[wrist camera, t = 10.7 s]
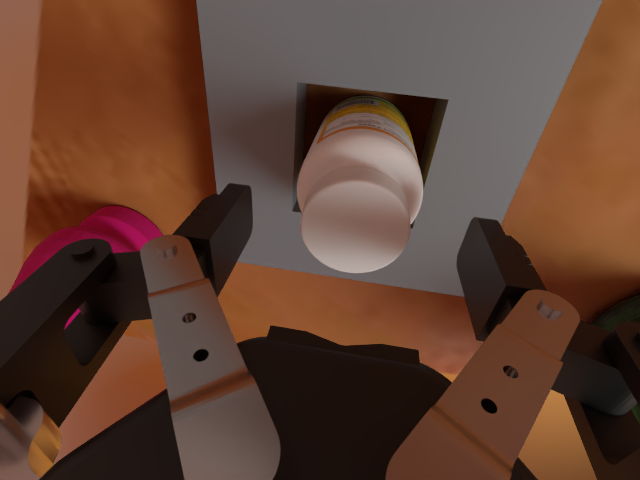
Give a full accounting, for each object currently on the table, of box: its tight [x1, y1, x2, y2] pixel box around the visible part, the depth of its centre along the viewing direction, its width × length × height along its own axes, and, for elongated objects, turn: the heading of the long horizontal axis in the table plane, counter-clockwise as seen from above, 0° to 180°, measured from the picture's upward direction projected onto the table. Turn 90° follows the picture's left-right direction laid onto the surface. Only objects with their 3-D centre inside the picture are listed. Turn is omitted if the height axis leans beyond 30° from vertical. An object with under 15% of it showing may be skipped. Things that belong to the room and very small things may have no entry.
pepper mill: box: [8, 206, 163, 330], centre depth 19 cm, size 7×7×20 cm
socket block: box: [196, 0, 602, 297], centre depth 19 cm, size 16×16×3 cm
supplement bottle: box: [297, 96, 423, 273], centre depth 16 cm, size 5×5×10 cm
